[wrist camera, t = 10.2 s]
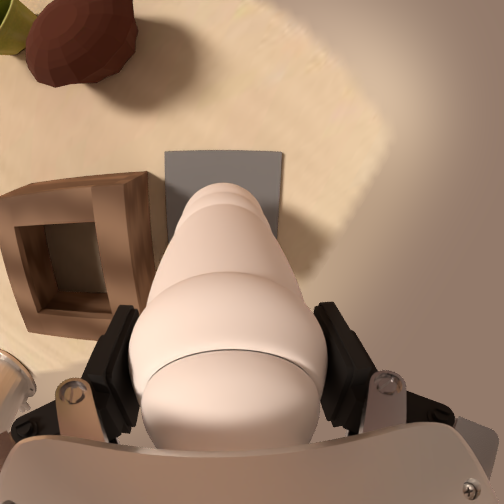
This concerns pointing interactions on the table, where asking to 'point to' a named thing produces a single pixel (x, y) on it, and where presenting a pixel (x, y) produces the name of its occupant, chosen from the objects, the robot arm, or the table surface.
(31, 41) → the muffin
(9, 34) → the plant pot
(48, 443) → the robot arm
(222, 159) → the mat
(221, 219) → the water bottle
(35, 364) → the table surface
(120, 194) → the slot box
